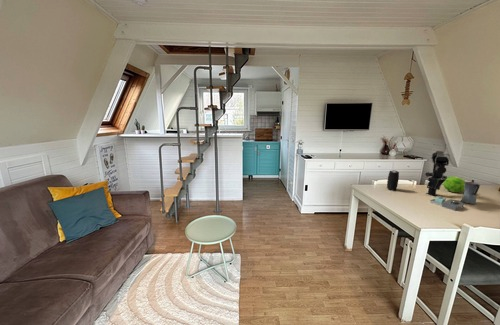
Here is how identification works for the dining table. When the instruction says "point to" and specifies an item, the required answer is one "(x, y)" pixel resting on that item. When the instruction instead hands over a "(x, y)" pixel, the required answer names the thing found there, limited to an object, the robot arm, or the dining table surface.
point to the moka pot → (470, 192)
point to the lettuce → (454, 184)
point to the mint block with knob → (440, 199)
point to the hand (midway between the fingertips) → (435, 187)
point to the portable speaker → (392, 180)
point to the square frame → (449, 204)
